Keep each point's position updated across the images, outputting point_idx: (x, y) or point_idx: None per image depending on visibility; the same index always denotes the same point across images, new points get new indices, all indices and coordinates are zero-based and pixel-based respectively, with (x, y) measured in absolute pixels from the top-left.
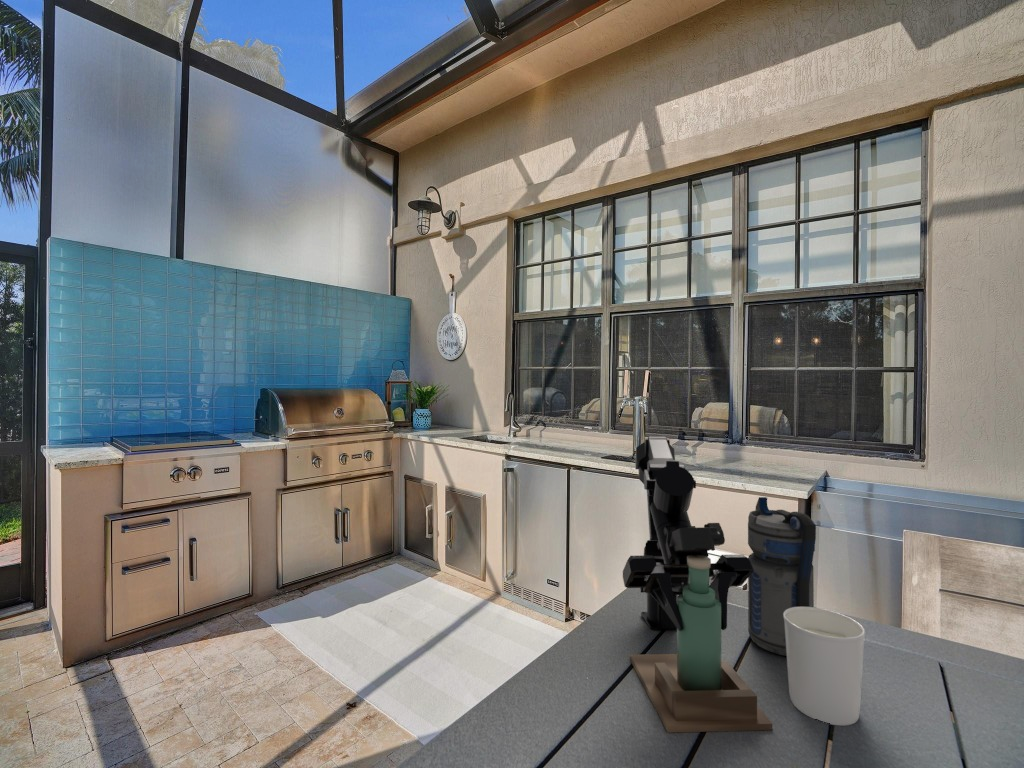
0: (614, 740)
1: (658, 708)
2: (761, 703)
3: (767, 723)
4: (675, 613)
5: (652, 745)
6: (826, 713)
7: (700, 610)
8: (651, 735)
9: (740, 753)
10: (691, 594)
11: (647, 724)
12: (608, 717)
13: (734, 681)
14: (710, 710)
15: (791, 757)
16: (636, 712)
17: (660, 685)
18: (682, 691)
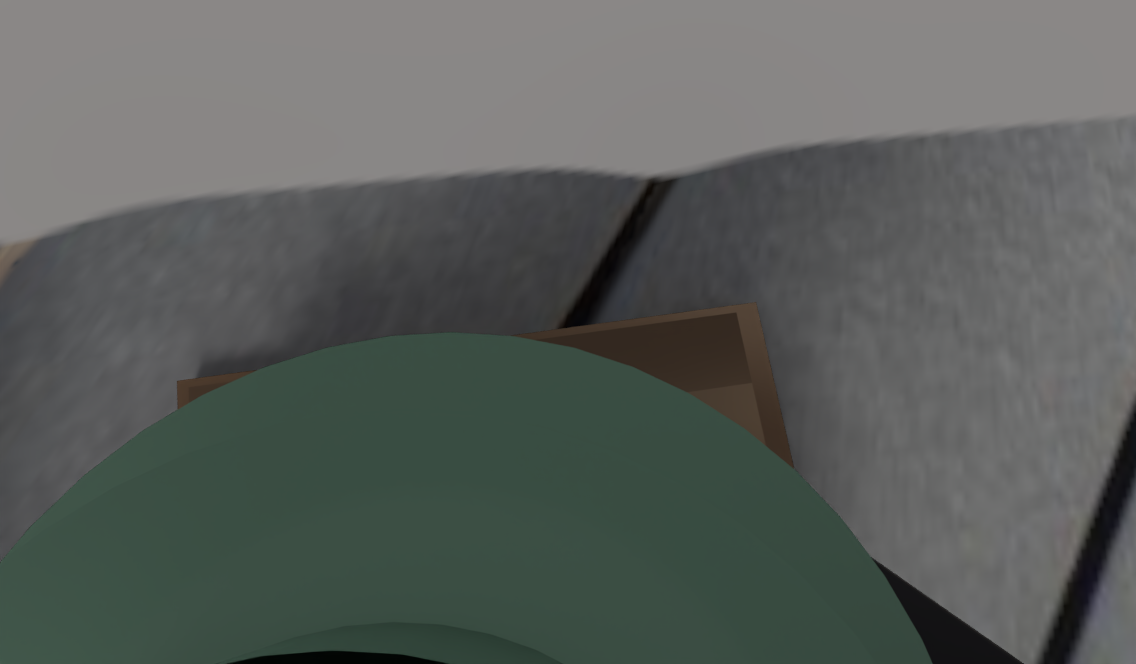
0: (998, 236)
1: (787, 447)
2: None
3: (204, 381)
4: (933, 614)
5: (827, 221)
6: None
7: (540, 351)
8: (827, 286)
9: (435, 210)
10: (768, 563)
11: (841, 363)
12: (1039, 397)
13: None
14: None
15: (206, 207)
16: (894, 456)
17: None
18: (682, 386)
